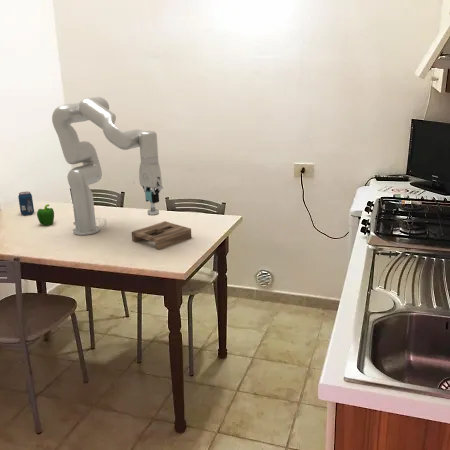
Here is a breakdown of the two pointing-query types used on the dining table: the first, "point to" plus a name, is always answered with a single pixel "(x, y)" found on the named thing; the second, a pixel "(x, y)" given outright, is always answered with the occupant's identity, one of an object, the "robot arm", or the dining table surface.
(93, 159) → the robot arm
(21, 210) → the soda can
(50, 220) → the bell pepper
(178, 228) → the keyhole plate
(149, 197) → the headed peg
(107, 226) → the dining table surface
